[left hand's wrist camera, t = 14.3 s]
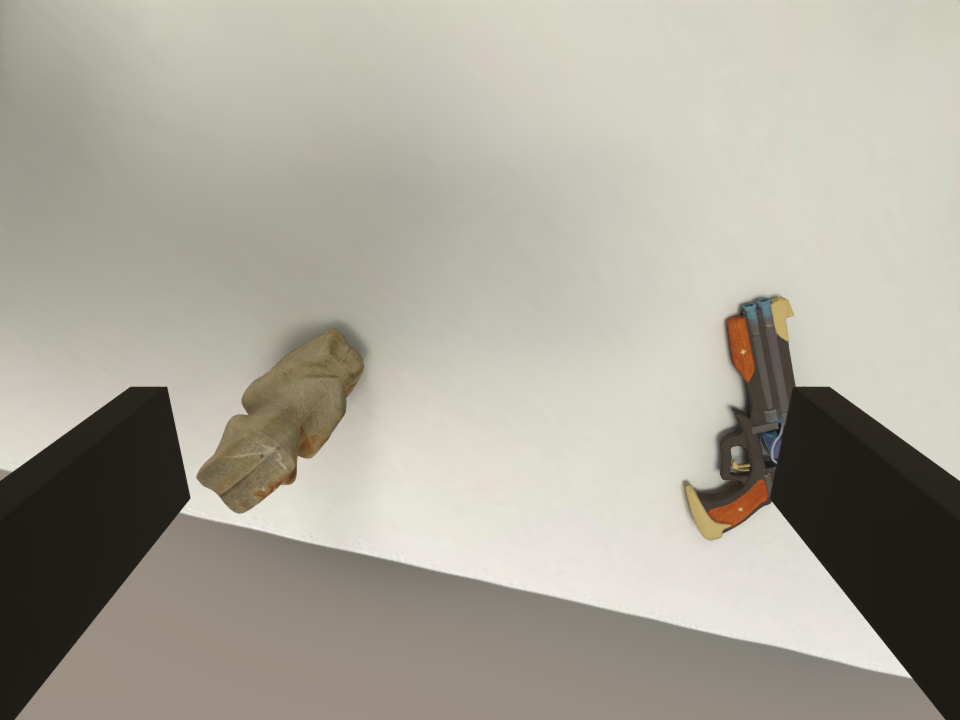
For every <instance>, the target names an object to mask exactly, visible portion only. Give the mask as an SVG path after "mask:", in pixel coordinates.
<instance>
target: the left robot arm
mask: <svg viewBox="0 0 960 720" xmlns="http://www.w3.org/2000/svg"><path fill="white" fill-rule="evenodd" d="M189 500H190V493H189V489H188V484H187V479H186V474H185V470H184V465H183V460H182V455H181V451H180V446H179V441H178V436H177V431H176V427H175V422H174V417H173V412H172V408H171V403H170V398H169V393H168V389H167V387H130V388H128V389H127V390H125V391H124V392H123V393H121V394H120V395H119V396H117V397H116V398H114V399H113V400H112V401H110V402H109V403H107V404H106V405H105V406H103V407H102V408H101V409H99V410H98V411H96V412H95V413H94V414H92V415H91V416H89V417H88V418H87V419H85V420H84V421H83V422H81V423H80V424H78V425H77V426H76V427H74V428H73V429H72V430H70V431H69V432H67V433H66V434H65V435H63V436H62V437H60V438H59V439H58V440H56V441H55V442H54V443H52V444H51V445H49V446H48V447H47V448H45V449H44V450H42V451H41V452H40V453H38V454H37V455H36V456H34V457H33V458H31V459H30V460H29V461H27V462H26V463H24V464H23V465H22V466H20V467H19V468H18V469H16V470H15V471H13V472H12V473H11V474H9V475H8V476H6V477H5V478H4V479H2V480H1V481H0V720H15V718H16V717H17V716H18V715H19V713H20V712H21V711H22V710H23V708H24V707H25V706H26V705H27V703H28V702H29V701H30V700H31V698H32V697H33V696H34V694H35V693H36V692H37V691H38V689H39V688H40V687H41V686H42V684H43V683H44V682H45V681H46V679H47V678H48V677H49V676H50V674H51V673H52V672H53V671H54V669H55V668H56V667H57V666H58V664H59V663H60V662H61V661H62V659H63V658H64V657H65V655H66V654H67V653H68V652H69V650H70V649H71V648H72V647H73V645H74V644H75V643H76V642H77V640H78V639H79V638H80V637H81V635H82V634H83V633H84V632H85V630H86V629H87V628H88V627H89V625H90V624H91V623H92V621H93V620H94V619H95V618H96V616H97V615H98V614H99V613H100V611H101V610H102V609H103V608H104V606H105V605H106V604H107V603H108V601H109V600H110V599H111V598H112V596H113V595H114V594H115V593H116V591H117V590H118V589H119V587H120V586H121V585H122V584H123V583H124V581H125V580H126V579H127V577H128V576H129V575H130V574H131V572H132V571H133V570H134V569H135V567H136V566H137V565H138V564H139V562H140V561H141V560H142V559H143V557H144V556H145V555H146V554H147V552H148V551H149V550H150V549H151V547H152V546H153V545H154V544H155V542H156V541H157V540H158V539H159V537H160V536H161V535H162V533H163V532H164V531H165V530H166V528H167V527H168V526H169V525H170V523H171V522H172V521H173V520H174V518H175V517H176V516H177V515H178V513H179V512H180V511H181V510H182V508H183V507H184V506H185V505H186V503H187V502H188V501H189ZM770 500H771V501H772V502H773V503H774V505H775V506H776V507H777V508H778V510H779V511H780V512H781V513H782V515H783V516H784V517H785V518H786V520H787V521H788V522H789V523H790V525H791V526H792V527H793V528H794V530H795V531H796V532H797V533H798V535H799V536H800V537H801V539H802V540H803V541H804V542H805V544H806V545H807V546H808V547H809V549H810V550H811V551H812V552H813V554H814V555H815V556H816V557H817V559H818V560H819V561H820V562H821V564H822V565H823V566H824V567H825V569H826V570H827V571H828V572H829V574H830V575H831V576H832V578H833V579H834V580H835V581H836V583H837V584H838V585H839V586H840V588H841V589H842V590H843V591H844V593H845V594H846V595H847V596H848V598H849V599H850V600H851V601H852V603H853V604H854V605H855V606H856V608H857V609H858V610H859V611H860V613H861V614H862V615H863V617H864V618H865V619H866V620H867V622H868V623H869V624H870V625H871V627H872V628H873V629H874V630H875V632H876V633H877V634H878V635H879V637H880V638H881V639H882V640H883V642H884V643H885V644H886V645H887V647H888V648H889V649H890V650H891V652H892V653H893V654H894V655H895V657H896V658H897V659H898V661H899V662H900V663H901V664H902V666H903V667H904V668H905V669H906V671H907V672H908V673H909V674H910V676H911V677H912V678H913V679H914V681H915V682H916V683H917V684H918V686H919V687H920V688H921V689H922V691H923V692H924V693H925V694H926V696H927V697H928V698H929V700H930V701H931V702H932V703H933V704H934V706H935V707H936V708H937V710H938V711H939V712H940V713H941V715H942V716H943V717H944V718H945V720H960V481H959V480H958V479H956V478H955V477H954V476H952V475H951V474H949V473H948V472H947V471H945V470H944V469H942V468H941V467H940V466H938V465H937V464H936V463H934V462H933V461H931V460H930V459H929V458H927V457H926V456H924V455H923V454H922V453H920V452H919V451H918V450H916V449H915V448H913V447H912V446H911V445H909V444H908V443H906V442H905V441H904V440H902V439H901V438H900V437H898V436H897V435H895V434H894V433H893V432H891V431H890V430H888V429H887V428H886V427H884V426H883V425H882V424H880V423H879V422H877V421H876V420H875V419H873V418H872V417H871V416H869V415H868V414H866V413H865V412H864V411H862V410H861V409H859V408H858V407H857V406H855V405H854V404H853V403H851V402H850V401H848V400H847V399H846V398H844V397H843V396H841V395H840V394H839V393H837V392H836V391H835V390H833V389H832V388H830V387H793V389H792V393H791V398H790V403H789V408H788V412H787V417H786V422H785V427H784V431H783V436H782V441H781V446H780V450H779V455H778V460H777V465H776V470H775V474H774V479H773V484H772V489H771V493H770Z"/></svg>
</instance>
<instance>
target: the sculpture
mask: <svg viewBox="0 0 960 720" xmlns="http://www.w3.org/2000/svg"><path fill="white" fill-rule="evenodd" d="M363 368H364V365H363V359H362V358H361V356H360V355H359V353H358V352H357V351H356V350H355V349H352V348H351V347H350V346H349V345H348V344H347V343H346V342H345V338H344V336H343V335H342V334H341V333H339V332H338V331H337V330H336V329H335V328H332V329H330V330H328V331H327V332H325V333H324V334H322V335H321V336H319V337H317V338H316V339H313V340H311V341H309V342H308V343H306V344H304V345H302V346H301V347H299V348H297V349H296V350H294V351H293V352H292V353H290V354H289V355H287V356H286V357H285V358H283V359H282V360H281V361H280V362H279V363H277V364H276V365H275V366H274V367H273V368H272V369H271V370H270V371H269V372H268V373H266V374H265V375H263V376H262V377H260V378H258V379H257V380H255V381H254V382H253V383H252V384H251V385H250V386H249V387H248V388H247V389H246V391H245V393H244V394H243V396H242V405H243V407H244V408H245V410H246V412H247V413H248V415H240V414H239V415H235V416H233V417H232V418H231V419H230V420H229V422H228V423H227V425H226V428H225V431H224V433H223V436H222V439H221V441H220V444H219V446H218V448H217V450H216V452H215V454H214V455H213V456H212V457H211V458H210V459H209V460H208V461H207V462H205V464H204V465H203V466H202V467H201V468H200V470H199V472H198V474H197V480H198V481H199V482H200V483H201V484H202V485H203V486H204V487H207V488H209V489H211V490H213V491H214V492H216V493H217V494H218V495H219V497H220V498H221V499H222V501H223V502H224V503H225V504H226V505H227V506H228V507H229V508H230V509H231V510H232V511H234V512H236V513H239V514H240V513H244V512H246V511H248V510H250V509H251V508H253V507H254V506H255V505H257V504H259V503H260V502H261V501H262V500H263V499H265V498H266V497H267V496H268V495H270V494H271V493H272V492H273V491H275V490H276V489H277V488H278V487H279V486H280V485H290V484H292V483H293V482H294V481H295V479H296V476H297V456H300V457H303V458H312V457H313V456H314V455H315V454H316V453H317V452H318V451H319V450H320V448H321V447H322V446H323V445H324V444H325V442H326V441H327V440H328V439H329V437H330V435H331V434H332V432H333V431H334V429H335V428H336V426H337V425H338V423H339V422H340V421H341V419H342V418H343V416H344V414H345V412H346V397H347V396H348V395H349V394H350V392H351V391H352V390H353V388H354V387H355V385H356V383H357V381H358V380H359V378H360V376H361V373H362V371H363Z"/></svg>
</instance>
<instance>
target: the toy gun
mask: <svg viewBox="0 0 960 720" xmlns="http://www.w3.org/2000/svg"><path fill="white" fill-rule="evenodd" d="M756 303H757V305H756V304H755V303H748V304H745V305H743V310H741V312H742V315H740V316H736V317H732V318H730V319H728V320H727V328H728V335H729V342H730V348H731V354H732V360H733V364H734V366H735V367H736V369H737V370H738V371H739V373H740V374H741V375H742V376H743V378H744V379H745V380H746V383H747V389H748V394H749V402H750V406H749V412H748V415H747V414H746V413H744V412H742V411H740V410H738V409H735V408H732V410H733V412H734V414H735V415H736V417H737V418H738V420H739V423H740V425H741V429H740V430H739V431H738V432H733V433H729V434H727V435H725V436H724V437H723V438H722V439H721V441H720V446H721V451H722V464H721V469H720V475H721V477H722V479H723V480H739V481H740V482H739V483H737V484H736V485H734V486H733V487H731V488H730V489H728V490H726V491H724V492H722V493H719V494H700V493H698V492H696V491H695V490H694V488H693V487H692V486H691V485H688V486H686V494H687V499H688V503H689V506H690V509H691V512H692V515H693V518H694V521H695V523H696V526H697V528H698V530H699V532H700V533H701V535H702V536H703V537H704V538H705V539H707V540H715V539H719V538H721V537H722V533H725V532H727V531H729V530H731V529H733V528H735V527H736V526H738V525H740V524H741V523H743V522H744V521H745V520H747V519H748V518H749V517H750V516H751V515H753V514H754V513H755V512H756V511H757V510H759V509H760V508H762V507H763V506H765V505H768V504H770V503H771V502H772V501H771V500H770V493H771V489H772V484H773V479H774V474H775V470H776V465H777V460H778V455H779V450H780V446H781V441H782V436H783V431H784V427H785V425H784V424H785V422H786V417H787V412H788V408H789V403H790V398H791V393H792V389H793V387H796V386H795V381H794V375H793V369H792V363H791V357H790V351H789V344H788V342H789V339H788V332H787V326H786V318H788V317H791V316H794V314H793V311H792V309H791V306H790V303H789V300H786V298H783V297H778V298H774V299H772V300H771V299H770V298H763V299H759V300H757V301H756ZM757 433H761V435H760V440H759V438H758V435H757ZM762 439H763V441H764V444H765V446H766V448H767V450H768V452H769V453H768V452H767V451H766V449H765V448H764V446H763V444H762ZM734 446H741V447H744V448H746V451H747V456H748V460H749V464H742V465H737V464H736V462H735V460H733V461H732V464H731V448H732V447H734ZM761 446H762V447H761ZM762 448H763V450H764V451H765V452H766V454H767V455H769V456H770V457H771V458H772V460H773V461H768V462H764V457H763V452H762ZM731 466H732V468H734V469H736V470H739V471H746V472H741V473H734V472H730V467H731ZM743 467H748V468H746V469H741V468H743Z"/></svg>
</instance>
